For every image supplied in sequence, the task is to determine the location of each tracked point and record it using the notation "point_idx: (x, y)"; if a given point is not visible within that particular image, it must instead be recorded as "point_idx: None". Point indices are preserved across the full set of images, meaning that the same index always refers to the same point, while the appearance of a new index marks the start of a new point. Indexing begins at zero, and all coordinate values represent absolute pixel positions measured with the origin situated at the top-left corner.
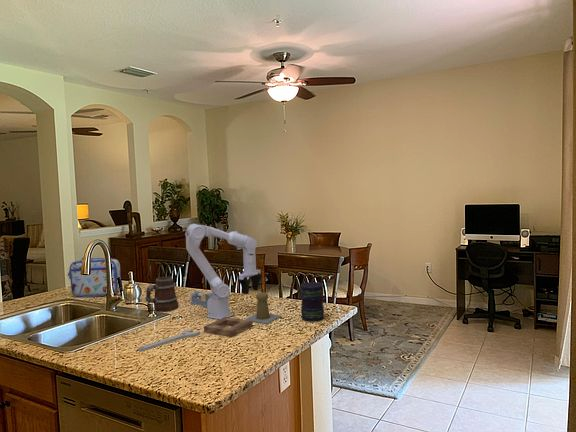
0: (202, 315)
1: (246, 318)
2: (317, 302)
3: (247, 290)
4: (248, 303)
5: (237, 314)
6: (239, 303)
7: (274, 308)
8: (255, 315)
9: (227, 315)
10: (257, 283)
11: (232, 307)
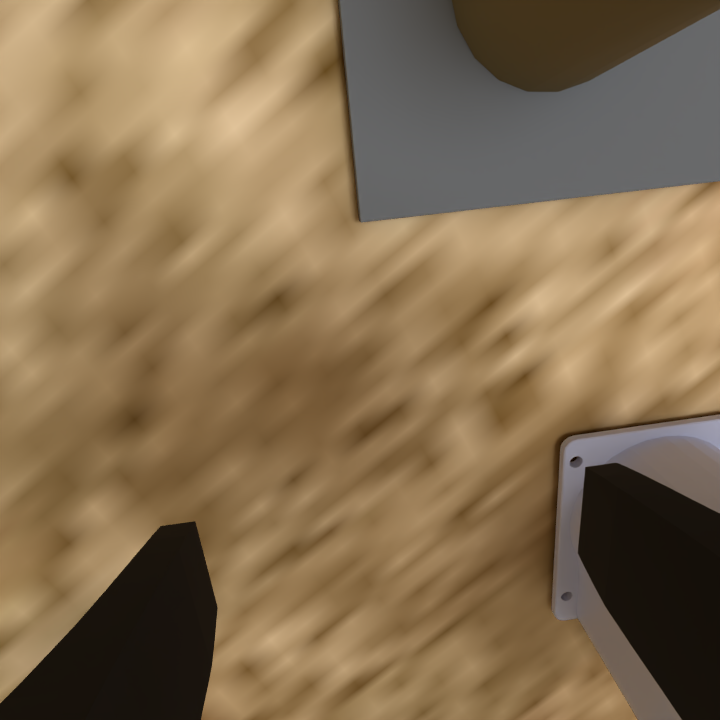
0: None
1: (669, 183)
2: None
3: (705, 508)
4: None
5: (513, 424)
6: None
7: (17, 177)
8: (510, 161)
9: (674, 441)
10: (116, 690)
11: (323, 633)
